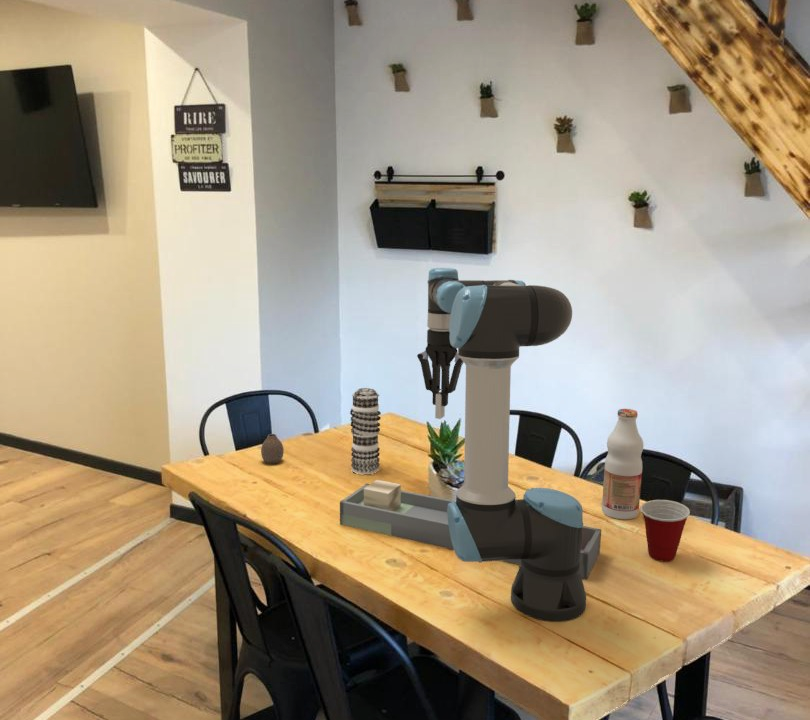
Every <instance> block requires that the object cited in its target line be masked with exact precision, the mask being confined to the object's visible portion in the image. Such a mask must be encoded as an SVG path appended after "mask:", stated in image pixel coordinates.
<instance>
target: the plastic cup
mask: <svg viewBox="0 0 810 720" xmlns="http://www.w3.org/2000/svg"><path fill="white" fill-rule="evenodd" d="M639 510H640V513H642V515H643V519H644V525H645V526H644V527H645V535H646V537H645V538H646V542H647V543H646V544H647V552H648V556H649V558H650V559H652V560H655V561H659V562H673V561H674V560H675V557H676V555H677V551H678V548H679V546H680V543H681V538H682V535H683V532H684V528H685V525H686V523H687V522H686V521H687V519H688V518H689V516H690V513H691V511H690V508H689V507H687V506H686V505H685V504H682V503H681V502H678V501H674V500H668V499H653V500H649V501H648V500H647V501H645V502H643V503H641V505H639Z"/></svg>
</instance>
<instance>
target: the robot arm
mask: <svg viewBox="0 0 810 720" xmlns="http://www.w3.org/2000/svg"><path fill="white" fill-rule="evenodd" d="M427 278H428V280H427V296H428V297H427V319H426V320H427V322H426V324H427V325H426V326H427V327H428V329H427V330H426V334H427V335H426V344H427V345H426V347H425V350H424V351H422V352H420V353H418V354H417V356H416V357H417V359H418V361H419V362H420V366H421V372H422V376H423V381H424V386H425V390H426V391H429V392H431V393H432V402H431V403H432V405H433V406H435V407H434V409H435V413H434V414H435V416H434V417H435V419H439V420H441V419H442V418H444V417H445V413H446V411H445V410H446V409H445V408H446V406H448V404H449V394H451V393H454V392H455V391H456V389H457V385H458V381H459V377H460V374H461V370H462V366H463V364H464V365H465V398H464V399H465V401H464V404H465V407H464V462H463V463H464V465H463V467H464V470H463V471H464V475H463V482H464V483H463V485H462V486H460V487H459V488H458V489H457V490H456V495H455V499H456V500H453V501H452V502H451V503H449V504H448V506H447V507H448V509H447V518H448V526H449V532H450V536H451V541H452V545H453V548H454V550H453V552H454V553H455V556H456V557H457V558H458V559H459V560H460V561H462V562H466V563H467V562H468V563H474V562H475V563H476V562H477V563H481V564H482V563H483V562H484V563H485V562H486V563H487V562H499V561H501V562H502V560H518V559H521V565H519V568H518V570H517V572H516V575H515V577H514V580H513V583H512V585H511V588H510V601H511V604H512V605H513V607H514V608H515V609H516V610H517V611H519V612H520V613H522V614H523V615H524V616H527V617H530V618H533V619H535V620H540V621H546V622H566V621H571V620H574V619H576V618H579V617H580V616H582V615H583V614H584V613H585V611H586V609H587V593H586V590H585V585H584V583H583V579H582V578H581V574H580V571H579V566H580V552H581V539H582V527H583V526H584V522H583V519H584V518H583V517H584V515H583V513H584V512H583V506H582V504H581V502H580V501H579V500H578V499H577V498H576V497H574V496H572V495H570V494H568V493H566V492H564V491H562V490H561V491H560V490H558V489H553V488H547V487H532V488H530V489H528V488H527V490H525V492H524V494H523V496H522V497H523V499H517V498H516V493H515V491H514V490H512V488H511V487H509V464H510V462H509V455H510V417H511V416H510V413H511V412H510V411H511V410H510V407H511V372H512V371H511V370H512V366H513V364H514V363H515V362H516V361H517V360H518V359H519V358H520V348H521V347H537V346H543V345H546V344H549V343H552V342H554V341H556V340H557V339H559V338H560V337H561V336H562V335H564V334H565V333H566V331H568V328H569V327H570V325H571V322H572V320H573V307H572V304H571V303H572V302H571V301H570V300H569V298H568V297H567V296H566V295H565V293H563V292H561V291H560V290H559V289H556V288H553V287H549V286H546V285H545V286H544V285H533V284H532V285H531V284H530V285H526V282H524V281H523V280H517V279H516V280H515V279H507V280H503V279H502V280H480V279H479V280H477V279H475V280H473V279H472V280H470V279H469V280H467V279H466V280H465V279H464V280H463V279H462V280H459V272H458V270H457V269H456V268H453V267H435V268H434V267H433V268H430V269H429V270H428V277H427ZM429 360H430V361H431V366H430V363H429V362H430V361H429ZM453 360H454V365H453V369H452V373H451V376H450V367H451V363H452V362H453ZM431 368H432V371H431ZM454 501H456V502H454Z"/></svg>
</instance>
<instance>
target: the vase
mask: <svg viewBox="0 0 810 720" xmlns="http://www.w3.org/2000/svg"><path fill="white" fill-rule="evenodd" d="M260 453H261V454H260V455H261V459H262V460H263V461H264V462H265V463H266V464H269V465H275V464H278V463H280V461H282V459H283V457H284V454H285V453H284V445H283V443H282V441H281V440H279V438H278V436H277V434H276V433H269V434H268V435H267V437H266V439H265V440H264V441H263V442H262V444H261V448H260Z"/></svg>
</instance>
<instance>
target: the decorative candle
mask: <svg viewBox="0 0 810 720" xmlns="http://www.w3.org/2000/svg"><path fill="white" fill-rule="evenodd" d="M351 396H352V405H351V406H352V407H351V408H350V412H349V414H350V415H351V417H350V426H351V429H350V432H351V435H352V444H351V445H352V447H351V449H350V451H352V452H351V454H350V455H351V459H350V462H351V465H350V466H351V472H352V471H353V472H355V473H358V474H357V475H359V474H371V475H373V474H372V473H375V472H377V471H379V472H380V449H381V448H380V447H379V441H378V440H379V435H380V432H381V428H380V426H381V423H380V422H379V421H380V420H381V416H380V415H381V414H382V413H381V411H380V410H379V407H380V405H379V397H380V394H379V393H378V392H377V391H376V390H375V389H374V388H369V387H368V388H367V387H364V388H363V387H362V388H358V389H356V390H355V392H353V393H352V395H351ZM353 472H352V473H353ZM355 473H354V474H355ZM377 473H378V472H377ZM375 474H376V473H375Z"/></svg>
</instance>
